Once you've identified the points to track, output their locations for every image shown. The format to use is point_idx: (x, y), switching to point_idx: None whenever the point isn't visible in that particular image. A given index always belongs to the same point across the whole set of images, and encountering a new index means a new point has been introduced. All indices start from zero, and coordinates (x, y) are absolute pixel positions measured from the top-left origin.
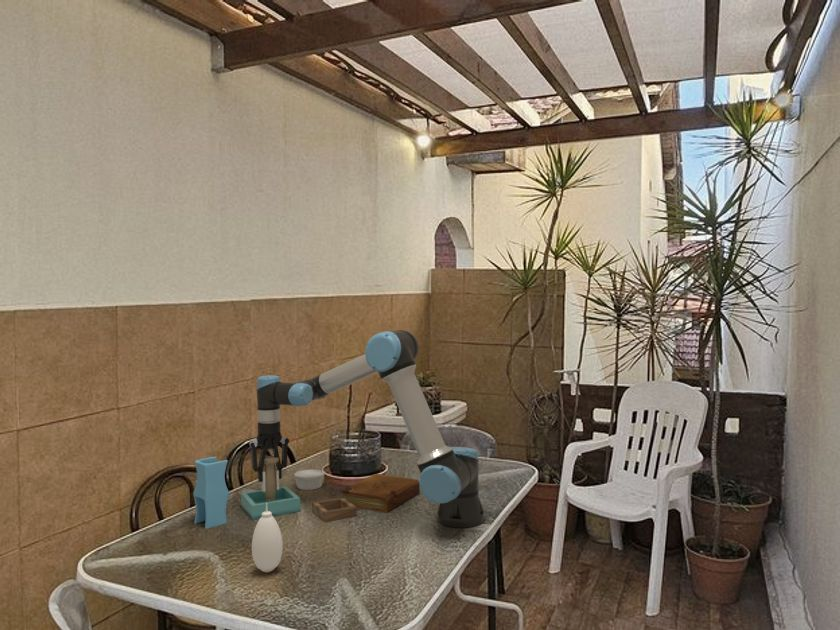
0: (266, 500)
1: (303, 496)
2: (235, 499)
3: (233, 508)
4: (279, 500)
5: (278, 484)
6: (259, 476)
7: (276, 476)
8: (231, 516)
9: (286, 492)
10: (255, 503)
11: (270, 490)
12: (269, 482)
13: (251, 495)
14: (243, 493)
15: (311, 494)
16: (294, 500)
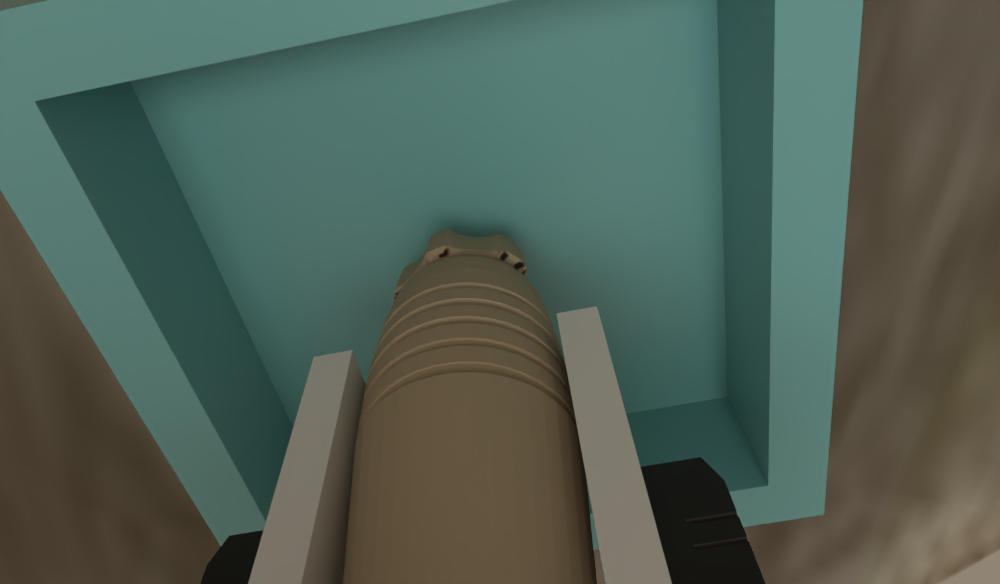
0: (525, 272)
1: (109, 497)
2: (765, 566)
3: (858, 358)
4: (311, 12)
5: (303, 418)
6: (750, 564)
7: (311, 564)
8: (976, 97)
9: (242, 445)
10: (633, 374)
11: (468, 313)
12: (487, 425)
13: None
14: (800, 494)
15: (31, 527)
16: (27, 1)
